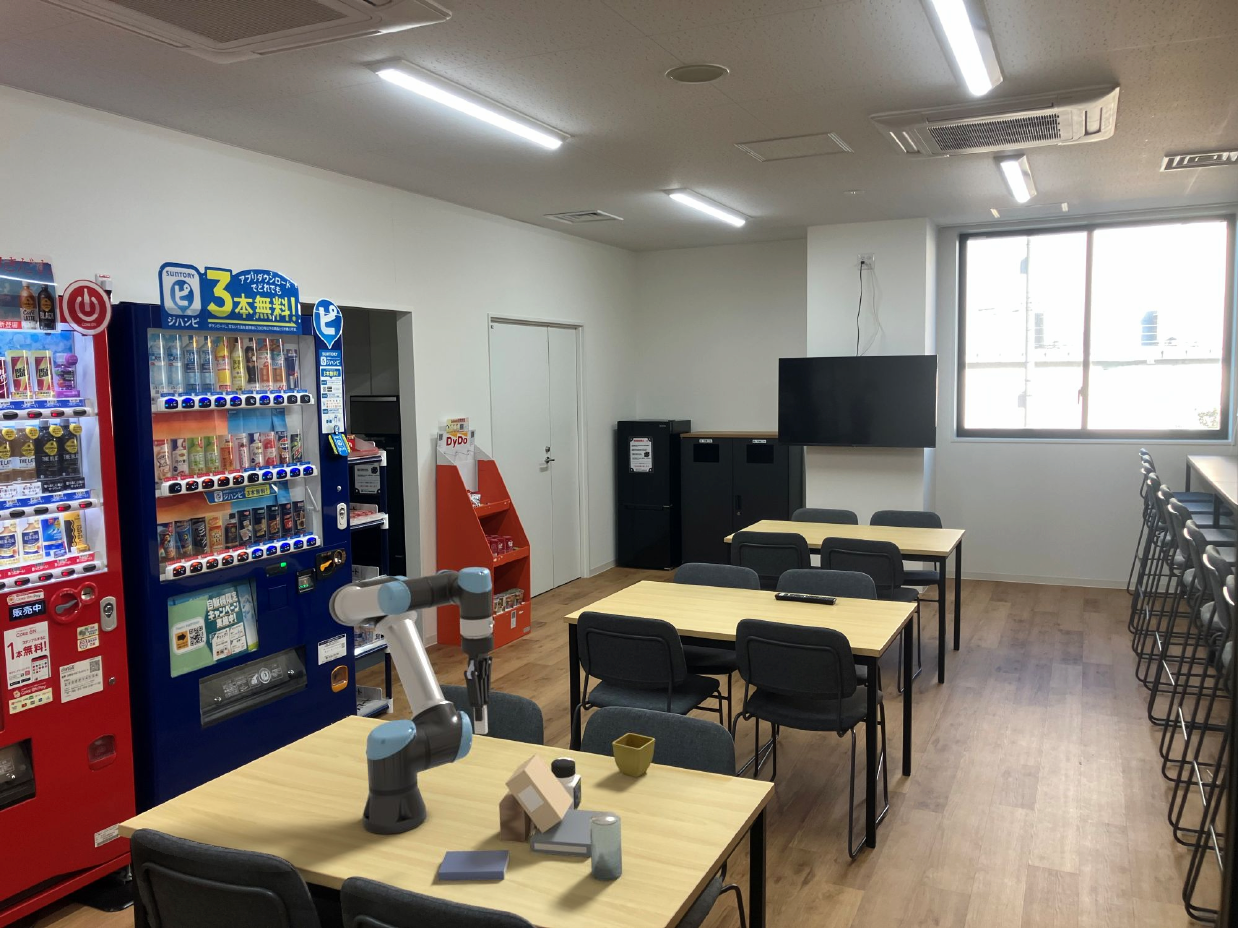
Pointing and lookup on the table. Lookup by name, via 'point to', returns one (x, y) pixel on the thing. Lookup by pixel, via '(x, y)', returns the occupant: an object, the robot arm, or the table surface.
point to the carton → (539, 792)
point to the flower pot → (633, 753)
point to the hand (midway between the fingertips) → (481, 732)
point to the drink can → (606, 846)
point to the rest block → (514, 820)
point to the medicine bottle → (568, 779)
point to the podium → (566, 835)
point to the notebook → (474, 865)
